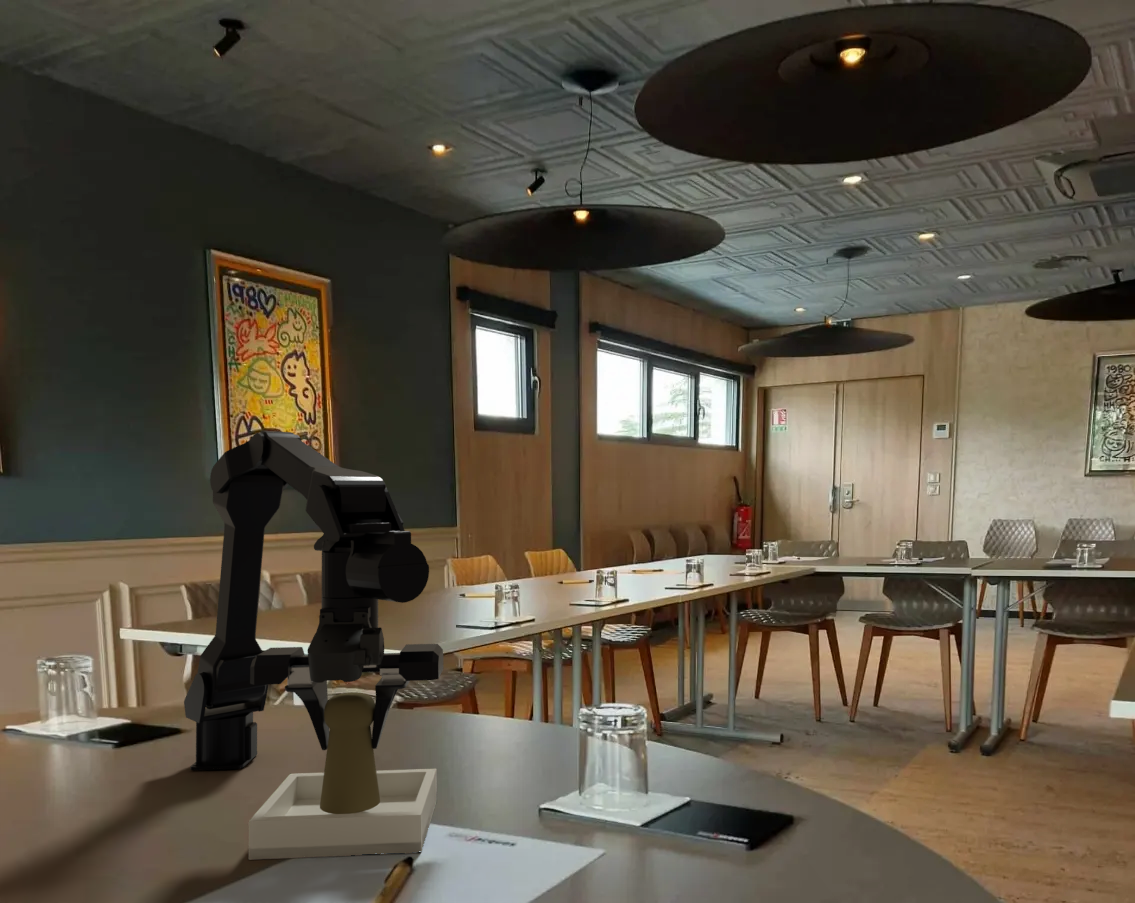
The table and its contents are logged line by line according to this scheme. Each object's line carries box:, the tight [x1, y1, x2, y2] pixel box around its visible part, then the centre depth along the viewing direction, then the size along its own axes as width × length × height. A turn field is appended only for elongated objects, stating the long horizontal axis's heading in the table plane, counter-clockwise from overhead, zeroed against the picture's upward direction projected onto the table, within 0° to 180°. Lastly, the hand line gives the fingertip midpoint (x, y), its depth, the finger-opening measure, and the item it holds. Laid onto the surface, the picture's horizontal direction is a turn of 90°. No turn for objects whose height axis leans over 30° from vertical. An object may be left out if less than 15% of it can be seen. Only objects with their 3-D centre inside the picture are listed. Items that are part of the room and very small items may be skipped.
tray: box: [248, 768, 438, 861], centre depth 86 cm, size 16×14×4 cm
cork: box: [320, 691, 380, 814], centre depth 87 cm, size 6×6×11 cm
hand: (350, 748), depth 87 cm, fingers closed on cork, 5 cm apart
